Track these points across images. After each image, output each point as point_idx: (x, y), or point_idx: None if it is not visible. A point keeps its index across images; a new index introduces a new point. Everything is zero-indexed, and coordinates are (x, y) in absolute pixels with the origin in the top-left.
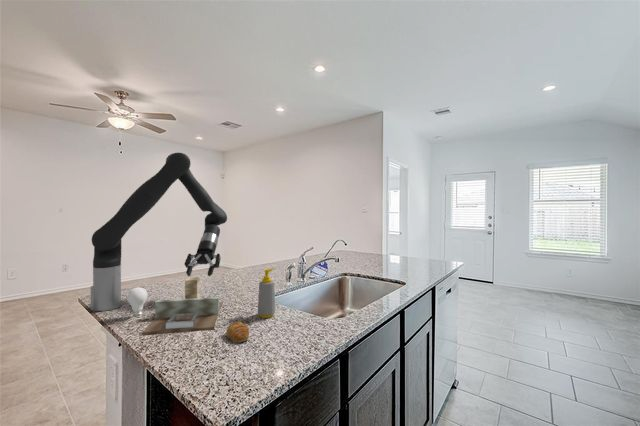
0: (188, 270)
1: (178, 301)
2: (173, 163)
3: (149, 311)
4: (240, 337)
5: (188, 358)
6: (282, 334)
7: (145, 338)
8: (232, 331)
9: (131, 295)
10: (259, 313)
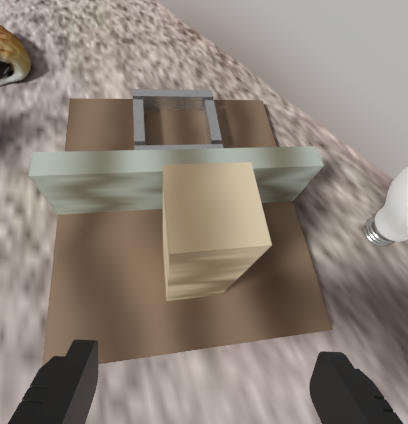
0: (360, 386)
1: (225, 150)
2: None
3: (370, 288)
4: None
5: (112, 13)
6: None
7: (242, 92)
8: (7, 34)
9: None
10: None
